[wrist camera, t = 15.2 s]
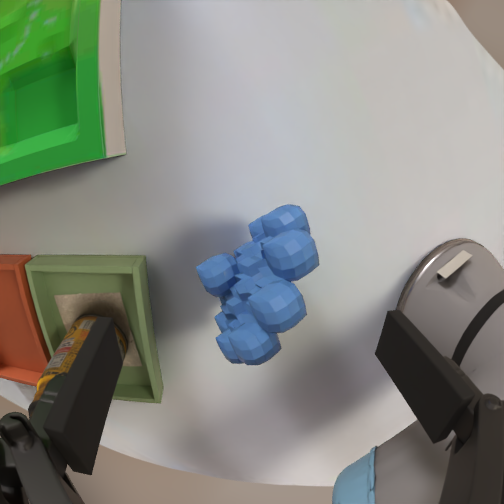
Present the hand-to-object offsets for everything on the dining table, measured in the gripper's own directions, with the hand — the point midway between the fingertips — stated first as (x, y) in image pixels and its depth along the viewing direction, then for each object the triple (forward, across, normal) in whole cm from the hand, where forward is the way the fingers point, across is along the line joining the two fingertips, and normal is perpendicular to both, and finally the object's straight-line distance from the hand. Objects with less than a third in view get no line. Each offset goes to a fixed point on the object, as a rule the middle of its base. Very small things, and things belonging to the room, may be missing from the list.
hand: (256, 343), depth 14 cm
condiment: (+12, +13, +8) cm, 20 cm away
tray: (+13, +23, -19) cm, 32 cm away
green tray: (+13, +13, +8) cm, 20 cm away
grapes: (+13, 0, 0) cm, 13 cm away
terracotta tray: (+13, +25, +8) cm, 30 cm away
